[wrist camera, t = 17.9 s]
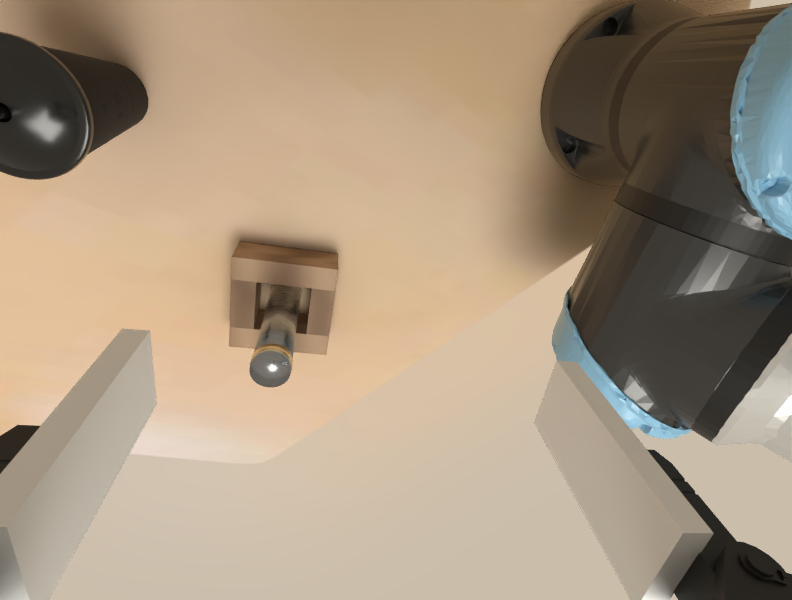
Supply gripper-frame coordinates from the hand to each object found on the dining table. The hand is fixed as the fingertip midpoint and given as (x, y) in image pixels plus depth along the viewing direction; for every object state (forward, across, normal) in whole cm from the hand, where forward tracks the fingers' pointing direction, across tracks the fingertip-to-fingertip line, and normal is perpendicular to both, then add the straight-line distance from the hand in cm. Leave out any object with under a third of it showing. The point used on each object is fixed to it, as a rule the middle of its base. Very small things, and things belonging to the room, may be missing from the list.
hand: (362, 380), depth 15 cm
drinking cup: (+31, +19, -4) cm, 37 cm away
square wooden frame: (+31, +5, +12) cm, 34 cm away
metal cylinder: (+31, +5, +12) cm, 34 cm away
